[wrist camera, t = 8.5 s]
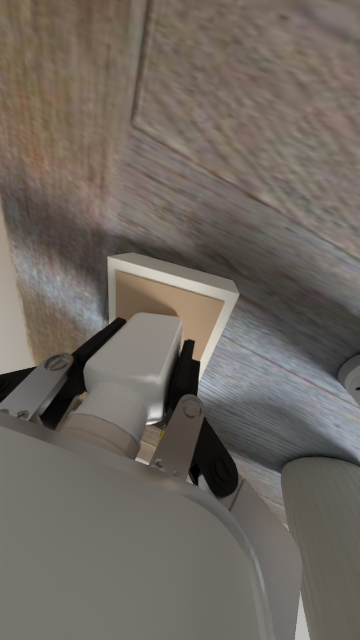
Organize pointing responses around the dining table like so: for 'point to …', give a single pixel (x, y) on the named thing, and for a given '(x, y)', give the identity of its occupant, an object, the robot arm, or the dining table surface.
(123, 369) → the salt shaker
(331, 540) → the canister
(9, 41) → the dining table surface
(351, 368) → the travel mug
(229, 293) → the pedestal
